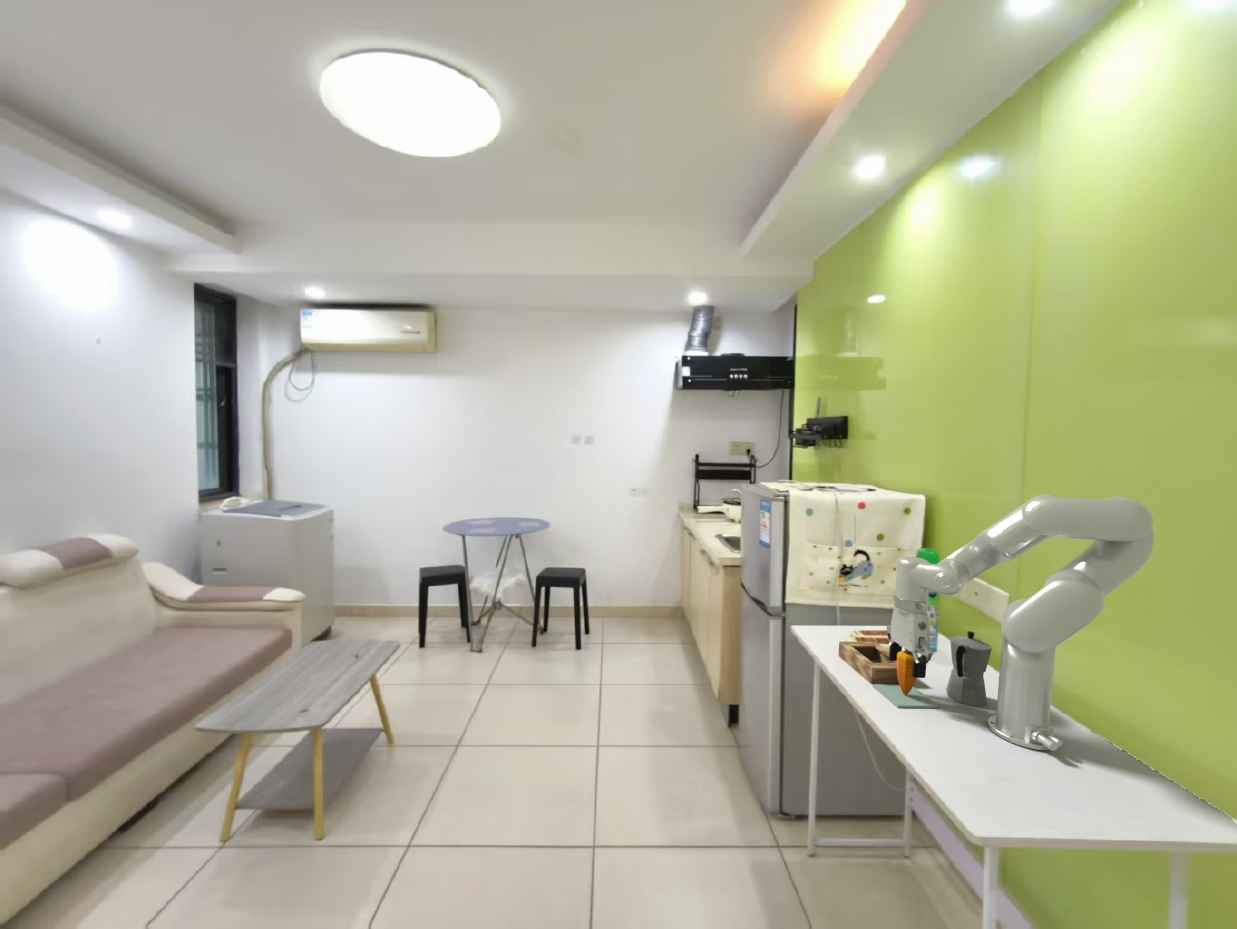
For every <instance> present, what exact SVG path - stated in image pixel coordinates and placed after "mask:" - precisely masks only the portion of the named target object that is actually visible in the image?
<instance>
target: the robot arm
mask: <svg viewBox="0 0 1237 929" xmlns="http://www.w3.org/2000/svg"><path fill="white" fill-rule="evenodd" d="M1153 525H1154V519H1153V516H1152V514H1151V511H1150V510H1149V509H1148V508H1147V507H1146V506H1145V505H1143V504H1142V503H1140V502H1139V501H1137V500H1135V499H1133V498H1130V497H1126V496H1118V495H1117V496H1110V497H1106V498H1087V497H1085V498H1083V497H1066V496H1065V497H1063V496H1057V495H1055V494H1051V493H1050V494H1049V493H1044V494H1037V495H1035V496H1034V497H1032V498H1030V499H1028V500H1027V501H1025V502H1024V503H1023V504H1021V505H1019V506H1018V507H1017V508H1014V509H1013V510H1012V511H1011V512H1008V514H1006V515H1005V516H1003V517H1002V518H1000V519H998V520H997V521H996V522H994V523H993V524H991V525H990V526H988V527H987V528H985V529H983V531H981V532H980V533H979V534H977V535H976V537H975V538H973V539H972V540H971V541H969V542H968V543H966V544H964V545H963V546H961V547H960V548H958V549H957V550H956V551H954V552H953V553H951V554H950V555H948V556H946V557H945V558H944V559H941V560H940V561H939V562H938V563H935V564H934V563H930V562H929V561H928V560H927V559H925V558H921V557H916V556H901V557H899V558H898V559H897V563H896V564H897V565H896V574H895V575H896V578H895V590H894V591H895V592H894V606H893V610H892V614H891V615H892V616H891V622H890V624H888V625H886V631H887V635H886V636H887V638H888V646H889V650H888V651H889V660H890V661H897V654H898V652H900V651H903V648H904V650H905V649H907V650H908V651H910V652H912V654H913V657H914V659H915V662H913V669H912V677H914V678H916V679H925V678H926V674H927V673H926V672H927V664H929V662H930V661H931V659H932V656H933V655H934V650H933V648H932V647H931V623H930V618H929V617H930V616H929V615H928V607H929V606H928V605H929V594H930V591H931V592H934V593H937V594H940V595H944V596H954V595H957V594H958V593H960V592H961V591H962V590H963V589H964V587H965V585H966V584H968V583H969V582H971V581H972V580H974V579H975V578H977V577H978V576H980V575H981V574H983V573H985V572H987V571H988V570H989V569H991V568H994V567H995V566H998V565H1000V564H1003V563H1008V562H1011V561H1013V560H1015V559H1017V558H1018V557H1019V558H1020V556H1021V555H1023V554H1025V553H1026V552H1028V551H1029V550H1031V549H1033V548H1034V547H1036V546H1038V545H1039V544H1041V543H1042V542H1044V541H1045V540H1048V539H1049V538H1050V537H1058V538H1067V539H1080V540H1094V541H1093V542H1092V543H1091V544H1090V545H1089V546H1087V548H1086V549H1085V550H1082V552H1081V553H1080V554H1078V556H1076V557H1074V558H1073V559H1072V560H1071V561H1069V562H1068V563H1067V564H1065V565H1064V566H1063V567H1061V568H1060V569H1057V571H1055V572H1053V573H1052V574H1050V575H1049V576H1048V577H1047V578H1046V579H1045V581H1044V583H1043V587H1041V588H1040V589H1039V590H1038V591H1036V592H1035V593H1034V594H1032V595H1031V596H1030V597H1029V598H1020V599H1017V600H1014V601H1012V602H1010V603H1009V604H1008V606H1007V607H1006V608H1005V610H1004V613H1003V615H1002V620H1001V627H1000V628H1001V633H1002V641H1001V651H1000V662H999V664H1000V665H999V675H998V676H999V677H998V687H997V688H998V689H997V698H996V699H997V701H996V714H995V715H991V716H988V717H987V721H986V722H987V727H988V728H989V730H991V731H992V733H994V734H995V735H997V736H999V737H1000V738H1002V739H1003V740H1006V741H1007V742H1010V743H1012V744H1014V745H1017V746H1020V747H1023V748H1027V749H1031V750H1037V751H1052V752H1055V751H1057V750H1058V748H1059V747H1061V746H1062V745H1063V741H1061V739H1059V738H1057V737H1055V735H1054V727H1053V726H1051V725H1050V717H1051V716H1050V715H1051V704H1052V692H1053V682H1054V680H1053V679H1054V674H1055V661H1056V648H1057V646H1059V645H1060V644H1062V643H1064V642H1065V641H1066V640H1069V638H1071V637H1072V636H1074V635H1075V634H1076V633H1078V632H1080V631H1081V630H1082V629H1084V628H1085V627H1086V626H1088V625H1090V624H1091V623H1092V622H1093V621H1095V620H1096V619H1097V618H1098V616H1100V614H1101V612H1102V611H1103V608H1104V604H1105V600H1104V599H1105V598H1106V597H1107V596H1108V595H1111V593H1112V592H1114V591H1115V590H1116V589H1118V588H1119V587H1120V586H1121V585H1123V584H1124V583H1125V582H1126V581H1128V580H1129V579H1130V578H1132V577H1133V576H1135V574H1136V573H1138V572H1139V571H1140V570H1141V569H1143V567H1144V566H1145V565H1146V564H1147V562H1148V560H1149V558H1150V556H1151V555H1152V551H1153V547H1154V536H1155V535H1154V528H1153ZM919 654H920V656H919Z"/></svg>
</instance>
